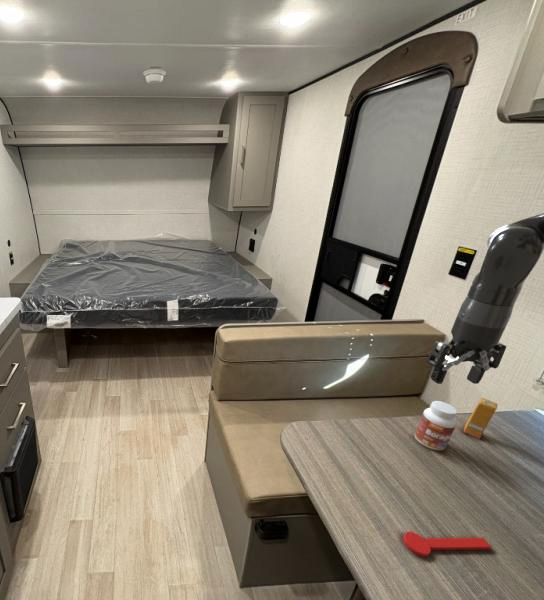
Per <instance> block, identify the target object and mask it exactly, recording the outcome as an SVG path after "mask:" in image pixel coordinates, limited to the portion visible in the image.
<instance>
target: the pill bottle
mask: <svg viewBox="0 0 544 600" xmlns="http://www.w3.org/2000/svg"><path fill="white" fill-rule="evenodd" d="M457 414H458V410H457V408H455V407H454V406H453V405H451V404H449V403H447V402H444V401H440V400H434V401H432V402H431V403H430V404H429V407H426V408H425V409H424V410H423V411H422V415H421V417H420V420H419V421H418V424H417V427H416V429H415V431H414V438H415V439H416V441H417V442H418V443H419V444H421V445H422V446H424V447H426V448H428V449H430V450H434V451H443V450H445V449H446V448H447V445H448V444H449V442H450V439H451V437H452V435H453V433H454V431H455V429H456V427H457V425H458V422H457V419H456V417H457Z"/></svg>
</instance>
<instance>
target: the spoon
mask: <svg viewBox="0 0 544 600" xmlns="http://www.w3.org/2000/svg"><path fill="white" fill-rule="evenodd" d="M402 541H403V543H404V544H405V546H406V547H407V548H408V549H409V550H410V551H411V552H412V553H413V554H415V555H416V556H419V557H423V558H424V557H425V558H426V557H428V556H430V554H431V552H432V551H456V550H458V551H461V550H463V551H464V550H467V551H468V550H472V551H473V550H474V551H475V550H479V551H480V550H492V546H491V544H490V543H488V542H487V540H486V539H485V538H484V537H445V538H444V537H443V538H442V537H440V538H439V537H438V538H437V537H435V538H433V537H432V538H431V537H430V538H427V537H425V538H424V537H423V536H421V535H419V534H418V533H417V532H413V531H407V532H405V533H404V535H403V539H402Z"/></svg>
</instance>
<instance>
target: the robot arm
mask: <svg viewBox="0 0 544 600" xmlns="http://www.w3.org/2000/svg"><path fill="white" fill-rule="evenodd" d="M486 247H487V250H486V254H485V256H484V258H483V262H482V264H481V267H480V270H479V272H478V273H477V274H475V276H474V278H473V280H472V282H471V284H470V287H469V289H468V292H467V295H466V297H465V298H464V300H463V302H462V303H461V305H460V308H459V310H458V312H457V315H456V317H455V320H454V322H453V325H452V328H451V329H450V333H451V336H452V338H451V340H450V341H448V342H444V341H441V340H440V339H439V340H435V341H434V344H433V346H432V349H431V351H430V353H429V355H428V356H427V359H426V363H427V364H429V365H430V366H431V367H433V369H432V372H431V374H430V380H431V381H433V382H434V383H436V384H437V385H440V384H443V382H444V381H445V378H446V375H447V372H448V370H449V369H450V368H452V367H454V366H458V365H459V364H460V363H466V362H471V363H473V365H471V367H470V370H469V372H468V374H467V376H466V380H467V381H468V382H471V383H472V384H474V385H477V384H480V382H481V381H482V379H483V377H484V375H485V372H487V371H489V370H490V369H498V368H499V366H500V364H501V362H502V359H503V357H504V354H505V352H506V350H507V345H505V344H503V343H501V342H500V341H501V338H502V336H503V334H504V332H505V330H506V328H507V325H508V323H509V321H510V320H511V317H512V314H513V310H514V306H515V304H516V303H517V300H518V298H519V296H520V294H521V292H522V289H523V285H524V284H525V281H526V279H528V277H529V276H530V275H531V273H532V271H533V270H534V268H535V267H536V265H537V263H538V262H539V260H540V258H541V256H542V254H543V252H544V212H543V213H540V214H536V215H533V216H530V217H526V218H522V219H520V220H517V221H514V222H511V223H509V224H506V225H503V226H502V227H499V228H497V229H496V230H494V232H492V233H491V234H490V236H489V237H488V239H487V244H486ZM450 355H451V357H452V358H451V357H450ZM492 358H493V359H492ZM491 359H492V360H491ZM444 362H446V363H444Z"/></svg>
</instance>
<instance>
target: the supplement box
mask: <svg viewBox="0 0 544 600" xmlns="http://www.w3.org/2000/svg"><path fill="white" fill-rule="evenodd" d="M497 408H498V403H496V402H495V401H492V400H489V399H487V398H484V397H481V398H480V399H479V401H478V402H477V403H476V405H475V407H474V409H473V411H472V413H471V414H470V415H469V418H468V420H467V422H466V424H465V425H464V428H463V432H464V434H467V435H469V436H472V437H474V438H476V439H481V437H482V435H483V433H484V432H485V430H486V428H487V427H488V424H489V423H490V421H491V419H492V418H493V416H494V415H495V412H496V411H497Z"/></svg>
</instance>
